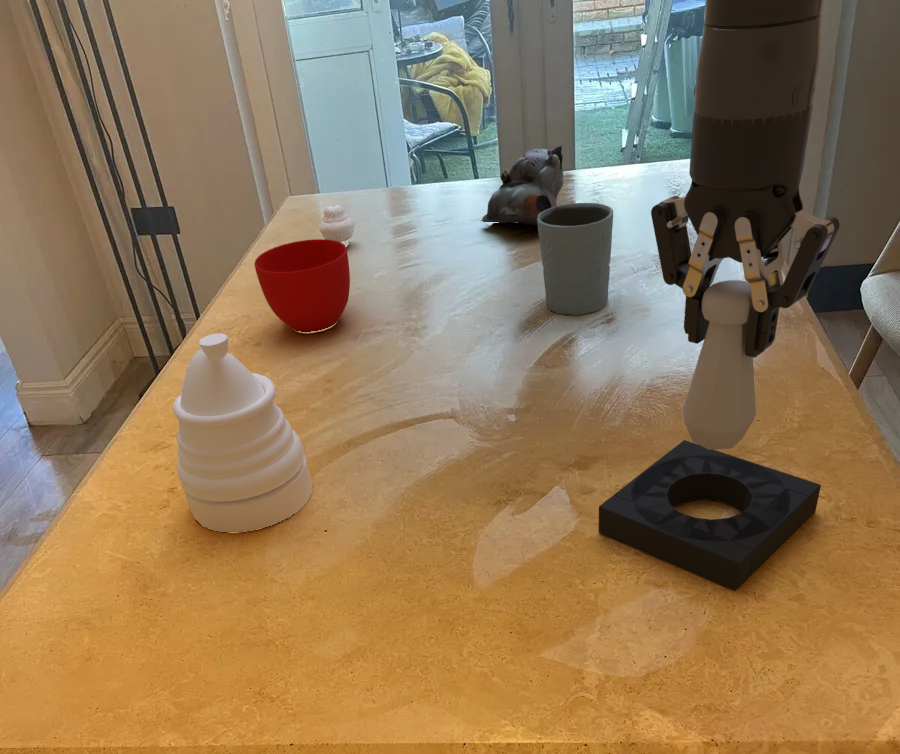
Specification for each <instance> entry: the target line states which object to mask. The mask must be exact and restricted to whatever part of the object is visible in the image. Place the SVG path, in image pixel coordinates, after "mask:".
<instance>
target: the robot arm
mask: <svg viewBox="0 0 900 754" xmlns="http://www.w3.org/2000/svg"><path fill="white" fill-rule="evenodd" d="M824 1H825V0H705V1H704V14H703V22H704V23H703V27H702V35H701V41H700V46H699V51H698V56H697V62H696V71H695V84H694V88H693V97H694V99H693V100H694V101H693V113H692V114H693V115H692V117H693V118H692V129H691V141H690V142H691V145H690V157H689V176H690V179H691V183H690V187H689V189H688V191H687V193H686V194H685V196H682V197H680V196H678V195H673V196H671V197H668V198H666V199H664V200H662V201H659V203H657V204H655V205H653V206H652V208H651V210H650V216H651V221H652V227H653V233H654V237H655V242H656V248H657V252H658V257H659V264H660V268H661V273H662V278H663V281H664V283H665V284H666V285H668V286H673V285H675V286H677V287H679V288H680V289H681V290H682V294H683V295H685V303H684V304H685V305H684V316H683V317H684V318H683V319H684V320H683V330H684V333H685V335H687V341H688V342H689V343H693V344H700V343H701V342H704V339H705V336H706V332H707V329H708V326H709V322H710V321H708V320H706V319H705V318H704V315H703V312H702V299H703V295H704V293H705V291H706V290H707V289H708V288H709V287H710V286H711V285H713V283H714V279H715V277H716V274H717V272H718V270H719V267H720V265H721V263H722V261H723V260H724V259H728V258H729V259H731V260H733V261H736V262H737V263H741V264H742V270H743V277H744V281H747V282H749V284H750V290H751V297H752V303H753V307H754V308H753V309H752V310H750V315H749V323H748V331H747V339H746V348H745V355H746V356H749V357H753V359H754V358H757V357H758V356H759V355H761V354H762V353H764V352H765V351H766V349H768V348H769V347H771V346H772V345H773V343H774V341H775V339H776V334H777V333H776V332H777V326H778V320H779V312H780V308H782V309H788V308H790V307H792V306H793V305H794V304H795V303H798V301H800V300H801V299H803V298H804V297H806V296H807V295H808V293H809V291H810V289H811V288H812V285H813V283H814V281H815V279H816V278H817V275H818V274H819V271H820V269H821V267H822V265H823V263H824V261H825V259H826V257H827V255H828V252H829V251H830V248H831V246H832V244H833V242H834V241H835V239H836V236H837V234H838V231H839V230H840V226H841V224H840V221H839V219H838V218H837V217H835V216H832V215H831V216H828V217H826V218H824V219H822V218H820V217H819V216H816V215H813V214H812V213H810V212H808V211H806V210H804V203H803V201H802V197H801V193H800V183H801V179H802V176H803V172H804V167H805V162H806V161H805V160H806V155H807V147H808V141H809V133H810V128H811V121H812V114H813V107H814V99H815V93H816V87H817V80H818V73H819V65H820V57H821V45H822V43H821V42H822V41H821V39H822V36H821V34H822V20H823V19H822V18H823V14H822V13H823V10H824V9H823V8H824ZM689 221H690V222H691V225H692V227H693V229H694V231H695V233H696V236H697V237H696V240H695V243H694V246H693V248H692V250H691V244H690V238H689V233H688V232H689V231H688V227H687V224H688V222H689ZM790 230H793V231H794V234H795V237H794V240H793V243H794V244H793V248H794V249H796V250H797V251H796V254H795V255H794V256H795V257H794V259H793V260H792V263H791V265H790V267H789V270H788V271H787V274H786V276H785V279H784V280H783V271H782V270H783V269H782V268H783V266H784V263H785V260H784V259H785V258H784V252H783V245H782V244H783V243H782V240H783V239H784V237H785V236H786V235H787V234H788V233H789V232H790Z"/></svg>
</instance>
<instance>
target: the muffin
mask: <svg viewBox="0 0 900 754" xmlns="http://www.w3.org/2000/svg"><path fill="white" fill-rule="evenodd" d="M354 228H355V222H354V220H353V218H352V217H350V216H349V215H348V214H347V212H345V208H344V207H343V206H341V205H339V204H332V205H329V206H327V207H326V208H325V209H324V211H323V217H322V220H321V221H320V222H319V225H318V229H319V232H320V233H321V234H322V237H323V238H324V239H326V240H334V241H338V242H342V241H346V240H348V239H350V238H351V237H352V238H353V235H354ZM352 238H351V239H352Z"/></svg>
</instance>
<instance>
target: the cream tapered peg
mask: <svg viewBox="0 0 900 754" xmlns="http://www.w3.org/2000/svg"><path fill="white" fill-rule="evenodd" d="M753 308H754V307H753V303H752V297H751V290H750V284H749V282H748V281H746V280H741V279H727V280H722V281H718V282H715V283H712V284H711V285H710V287H709V288H708V289H707V290H706V291H705V293H704V295H703V299H702V312H703V315H704V318H705V319H706V320H708V321H710V322H709V326H708V329H707V332H706V336H705V339H704V340H703V341H702V346H701V349H700V353H699V355H698V359H697V362H696V365H695V369H694V371H693V374H692V379H691V382H690V385H689V388H688V391H687V395H686V398H685V401H684V404H683V407H682V415H683V420H684V424H685V426H686V429H687V432H688V435H689V436H690V439H691V441H692V443H695V444H698V445H700V446H702V447H704V448H706V449H708V450H712V449H713V450H731V449H733V448H734V447H735V446H736V445H738V443H740V441H742V440H743V439H744V437H745V435H746V433H747V432H748V430H749V429H750V427H751V426H752V424H753V422H754V420H755V419H756V414H757V410H756V389H755V371H754V370H755V369H754V358H753V357H749V356H746V355H745V348H746V339H747V331H748V323H749V315H750V310H752V309H753Z"/></svg>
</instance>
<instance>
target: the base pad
mask: <svg viewBox="0 0 900 754" xmlns="http://www.w3.org/2000/svg"><path fill="white" fill-rule="evenodd" d="M821 488H822V484H821V483H817V482H815V481H811V480H808V479H805V478H803V477H798V476H796V475H792V474H790V473H787V472H783V471H781V470H778V469H774V468H772V467H768V466H765V465H762V464H759V463H756V462H753V461H750V460H747V459H744V458H741V457H737V456H734V455H731V454H729V453H726V452H722V451H719V450H717V449H712V450H708V449H706V448H704V447H702V446H700V445H698V444H696V443H694V442H693V441H692V442H691V441H688V440H686V439H684V440H682V441H681V442H680V443H678V444H677V445H676V446H675V447H673V448H672V449H671V450H669V451H668V452H666V454H664V455H662V456H661V457H660V458H659V459H658V460H657V461H655V462H654V463H653V464H651V465H650V466H649V467H648V468H645V470H643V471H642V472H641V473H640V474H639V475H637V476H636V477H635V478H633V479H632V480H631V481H629V482H628V483H627V484H626V485H624V486H623V487H622V488H621V489H618V491H616V492H614V494H613V495H611V497H608V499H606V500H605V501H604V502H602V503H601V504H599V506H598V533H599V534H601V535H603V536H604V537H605V536H606V537H608V538H610V539H612V540H614V541H617V542H620V543H621V544H624V545H627V546H629V547H631V548H634V549H636V550H638V551H640V552H643V553H645V554H648V555H650V556H652V557H654V558H657V559H660V560H662V561H664V562H666V563H669V564H670V565H673V566H676V567H678V568H681V569H683V570H685V571H687V572H690V573H692V574H695V575H697V576H699V577H701V578H704V579H706V580H709V581H711V582H713V583H715V582H716V584H718V585H720V584H721V585H720V586H723V587H724V588H727V587H728V588H727V589H730V590H732V589H733V590H732V591H734V590H736V589H737V590H738V589H739V588H740V587H741V586H742V585H743V584H744V583H745V582H746V581H747V580H748V579H749V578H750V577H752V575H754V574H755V572H756V571H758V569H759V568H760V567H761V566H762V565H763V564H765V562H766V561H767V560H768V559H769V558H771V556H773V554H774V553H775V552H776V551H778V549H780V548H781V547H782V546H783V545H784V544H785V543H786V542H787V541H788V539H790V537H792V536H793V535H794V534H795V532H797V531H798V529H800V528H801V527H802V526H803V525H804V524H805V523H806V522H807V521H808V520H809V519H810V518H811V517H812V516H813V515H814V514H815V513H816V511H817V507H818V501H819V497H820V492H821ZM704 500H706V501H712V502H720V503H724V504H727V505H728V506H731V507H734V508H735V509H736V510H738V512H740V513H737V514H735V515H732V516H730V517H725V518H722V517H721V518H713V519H709V518H703V517H702V518H701V517H695V516H691V515H689V514H688V513H687V514H686V513H684V512H681V511H679V509H676V507H677V506H679V505H682V504H685V503H688V502H694V501H695V502H696V501H704ZM737 590H736V591H737Z"/></svg>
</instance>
